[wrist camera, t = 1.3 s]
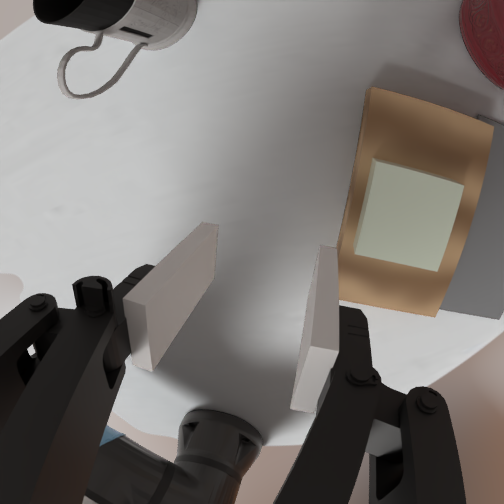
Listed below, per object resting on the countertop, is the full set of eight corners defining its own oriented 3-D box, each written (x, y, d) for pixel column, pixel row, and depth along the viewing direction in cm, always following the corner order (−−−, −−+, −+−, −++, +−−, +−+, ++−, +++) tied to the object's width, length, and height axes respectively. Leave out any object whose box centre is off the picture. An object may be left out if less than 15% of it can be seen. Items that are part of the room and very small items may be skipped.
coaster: (431, 261, 27) (437, 271, 25) (353, 244, 28) (354, 254, 26) (455, 180, 24) (464, 185, 22) (372, 157, 25) (376, 161, 23)
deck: (426, 297, 33) (435, 317, 29) (328, 278, 35) (328, 297, 31) (476, 123, 24) (494, 126, 21) (366, 90, 26) (372, 86, 22)
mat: (498, 317, 31) (499, 319, 31) (423, 304, 33) (424, 306, 33) (554, 152, 22) (556, 152, 22) (477, 114, 24) (479, 114, 23)
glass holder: (203, -22, 24) (126, -82, 10) (183, 99, 30) (88, 99, 17) (133, -14, 25) (42, -49, 12) (115, 97, 31) (13, 105, 18)
